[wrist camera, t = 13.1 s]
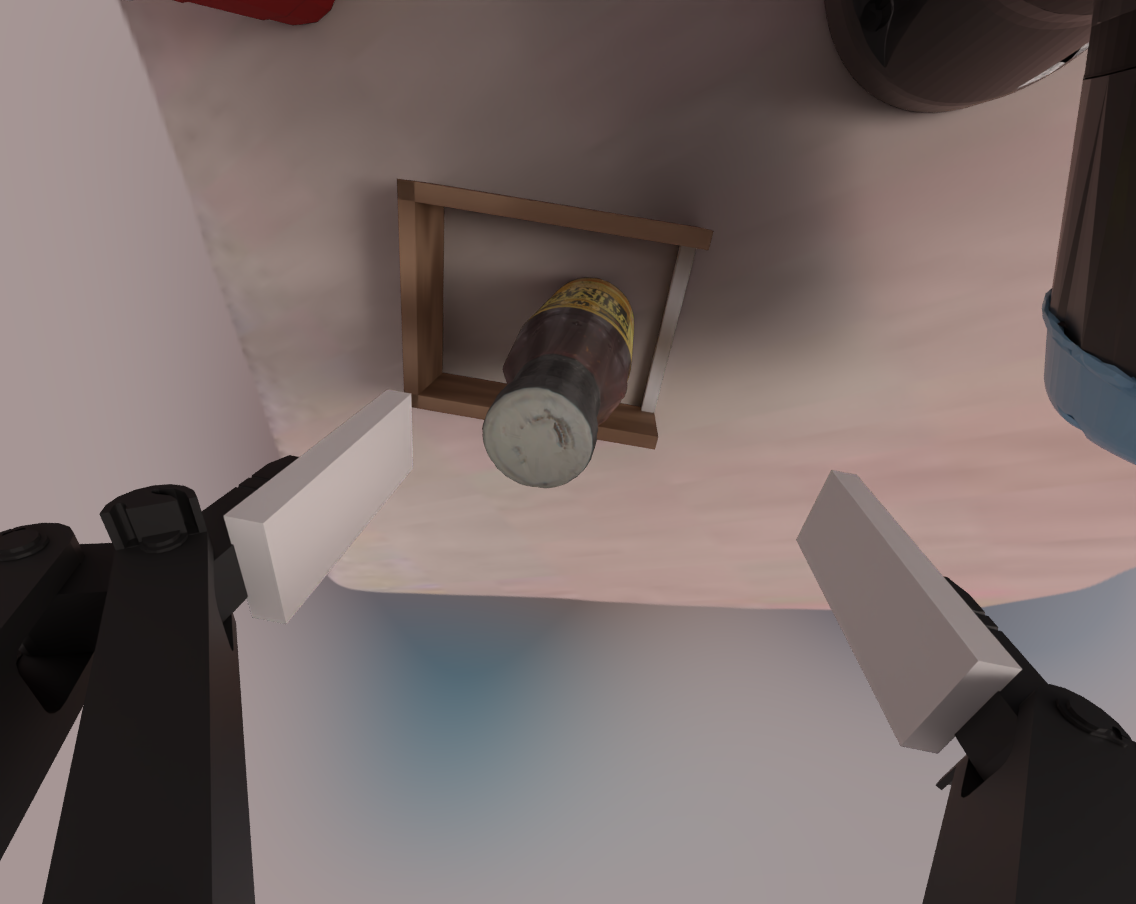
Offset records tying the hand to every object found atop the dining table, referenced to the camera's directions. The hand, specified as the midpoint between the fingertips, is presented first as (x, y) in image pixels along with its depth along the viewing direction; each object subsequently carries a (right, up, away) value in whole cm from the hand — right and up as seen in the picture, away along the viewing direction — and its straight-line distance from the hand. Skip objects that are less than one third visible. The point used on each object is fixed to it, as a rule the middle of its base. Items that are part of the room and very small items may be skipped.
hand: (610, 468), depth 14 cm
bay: (-3, +11, +19) cm, 22 cm away
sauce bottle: (0, +10, +19) cm, 22 cm away
